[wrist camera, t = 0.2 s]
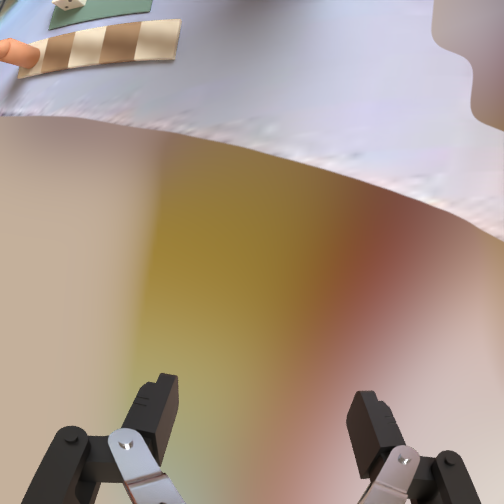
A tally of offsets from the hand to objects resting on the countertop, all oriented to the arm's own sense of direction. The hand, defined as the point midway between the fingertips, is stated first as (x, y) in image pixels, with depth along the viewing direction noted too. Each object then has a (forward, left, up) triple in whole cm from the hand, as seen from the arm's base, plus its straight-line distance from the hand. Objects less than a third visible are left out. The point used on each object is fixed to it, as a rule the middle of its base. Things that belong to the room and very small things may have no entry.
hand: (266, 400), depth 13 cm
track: (-26, -28, -29) cm, 48 cm away
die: (-36, -32, -29) cm, 56 cm away
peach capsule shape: (-26, -39, -28) cm, 54 cm away
